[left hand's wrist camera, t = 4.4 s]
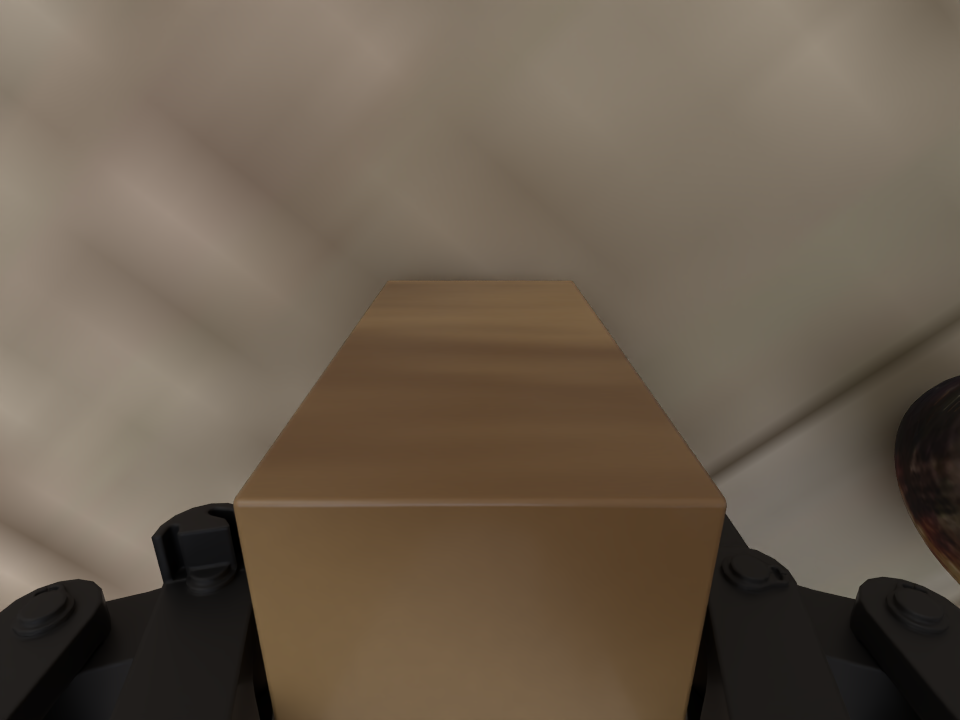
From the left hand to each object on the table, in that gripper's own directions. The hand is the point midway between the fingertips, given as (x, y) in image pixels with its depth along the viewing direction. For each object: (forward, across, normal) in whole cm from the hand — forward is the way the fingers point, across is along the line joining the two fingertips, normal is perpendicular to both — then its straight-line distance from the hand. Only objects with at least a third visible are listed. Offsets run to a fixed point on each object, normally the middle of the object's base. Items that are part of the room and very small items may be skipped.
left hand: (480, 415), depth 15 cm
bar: (+1, 0, -9) cm, 9 cm away
